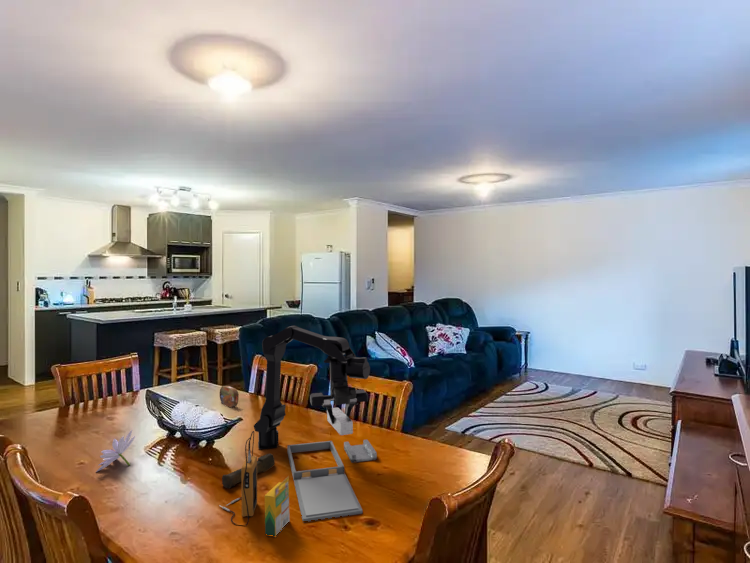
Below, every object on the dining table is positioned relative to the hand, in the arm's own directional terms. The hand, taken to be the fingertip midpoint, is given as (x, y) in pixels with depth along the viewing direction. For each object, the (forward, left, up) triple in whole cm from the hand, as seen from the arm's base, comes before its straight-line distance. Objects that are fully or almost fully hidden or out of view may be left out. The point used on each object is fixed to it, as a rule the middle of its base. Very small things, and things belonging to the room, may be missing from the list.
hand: (339, 423), depth 153 cm
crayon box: (-23, -36, -12) cm, 44 cm away
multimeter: (-33, -25, -12) cm, 43 cm away
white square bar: (0, 0, -1) cm, 1 cm away
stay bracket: (+7, +2, -12) cm, 14 cm away
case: (-9, -13, -12) cm, 19 cm away
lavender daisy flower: (-71, +15, -12) cm, 73 cm away
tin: (-38, +73, -12) cm, 83 cm away
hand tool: (-29, -5, -12) cm, 32 cm away
